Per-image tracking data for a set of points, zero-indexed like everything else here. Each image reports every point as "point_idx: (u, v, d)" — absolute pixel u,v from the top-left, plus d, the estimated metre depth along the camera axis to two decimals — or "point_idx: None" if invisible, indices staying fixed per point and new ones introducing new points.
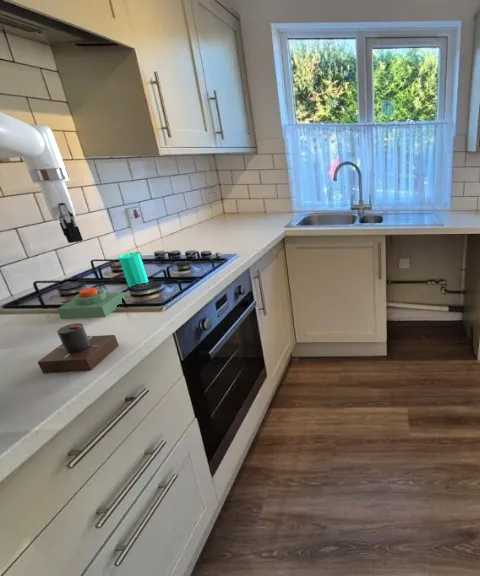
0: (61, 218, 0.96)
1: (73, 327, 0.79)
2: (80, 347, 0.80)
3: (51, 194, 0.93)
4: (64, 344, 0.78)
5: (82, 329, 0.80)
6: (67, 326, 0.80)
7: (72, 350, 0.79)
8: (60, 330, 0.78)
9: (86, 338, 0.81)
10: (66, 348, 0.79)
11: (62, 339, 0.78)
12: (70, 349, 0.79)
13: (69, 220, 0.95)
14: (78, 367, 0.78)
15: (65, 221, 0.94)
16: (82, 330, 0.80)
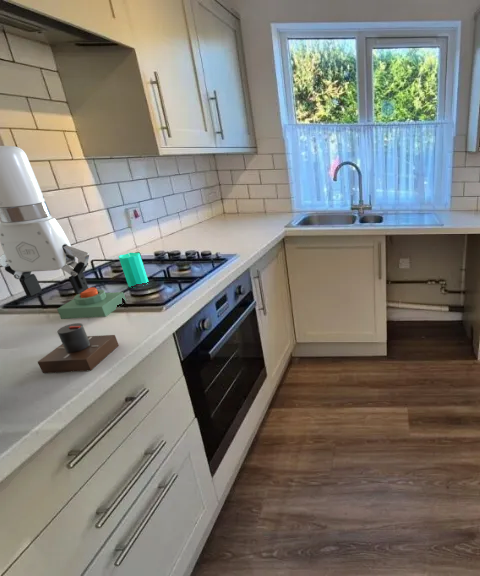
0: (65, 264, 0.74)
1: (73, 327, 0.79)
2: (80, 347, 0.80)
3: (54, 234, 0.72)
4: (64, 344, 0.78)
5: (82, 329, 0.80)
6: (67, 326, 0.80)
7: (72, 350, 0.79)
8: (60, 330, 0.78)
9: (86, 338, 0.81)
10: (66, 348, 0.79)
11: (62, 339, 0.78)
12: (70, 349, 0.79)
13: (86, 262, 0.76)
14: (78, 367, 0.78)
15: (83, 264, 0.75)
16: (82, 330, 0.80)
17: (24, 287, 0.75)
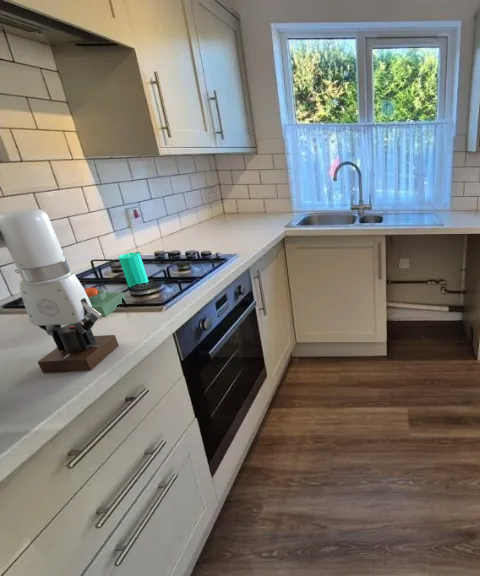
0: (79, 321, 0.78)
1: (73, 327, 0.79)
2: (80, 347, 0.80)
3: (73, 291, 0.75)
4: (64, 344, 0.78)
5: None
6: (67, 326, 0.80)
7: (72, 350, 0.79)
8: (60, 330, 0.78)
9: None
10: (66, 348, 0.79)
11: (62, 339, 0.78)
12: (70, 349, 0.79)
13: (95, 321, 0.79)
14: (78, 367, 0.78)
15: (91, 323, 0.78)
16: None
17: (56, 342, 0.79)
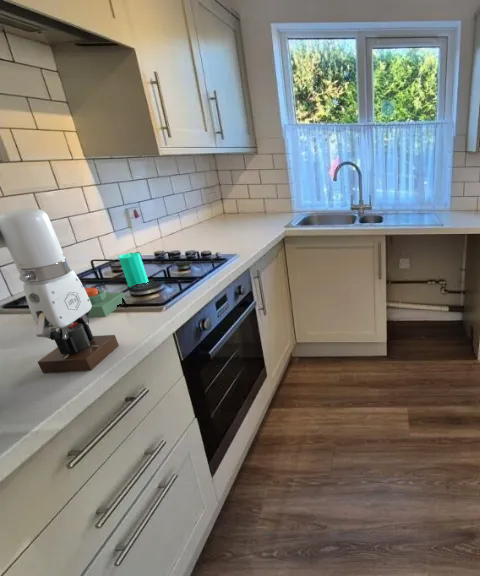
0: None
1: (73, 325, 0.80)
2: None
3: None
4: (82, 340, 0.80)
5: None
6: None
7: (88, 343, 0.82)
8: (70, 330, 0.78)
9: None
10: (84, 344, 0.80)
11: (80, 335, 0.79)
12: (87, 343, 0.81)
13: None
14: (78, 367, 0.78)
15: None
16: None
17: (73, 344, 0.78)
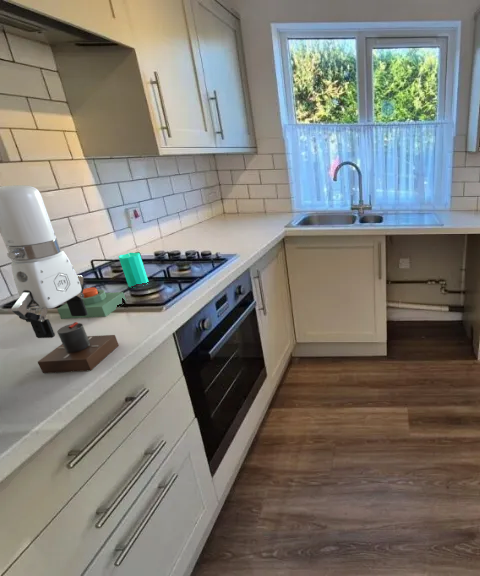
0: None
1: (73, 325, 0.80)
2: None
3: None
4: (82, 340, 0.80)
5: None
6: (62, 330, 0.78)
7: (88, 343, 0.82)
8: (70, 330, 0.78)
9: None
10: (84, 344, 0.80)
11: (80, 335, 0.79)
12: (87, 343, 0.81)
13: None
14: (78, 367, 0.78)
15: None
16: None
17: (50, 327, 0.73)
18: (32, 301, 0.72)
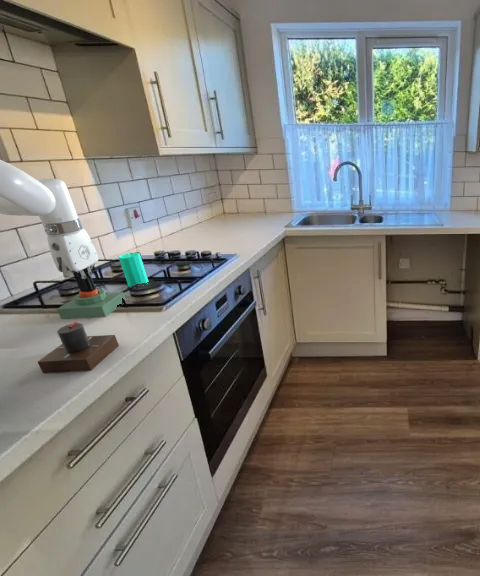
0: None
1: (73, 325, 0.80)
2: None
3: None
4: (82, 340, 0.80)
5: None
6: (62, 330, 0.78)
7: (88, 343, 0.82)
8: (70, 330, 0.78)
9: None
10: (84, 344, 0.80)
11: (80, 335, 0.79)
12: (87, 343, 0.81)
13: None
14: (78, 367, 0.78)
15: (90, 267, 1.04)
16: None
17: (90, 283, 1.02)
18: None
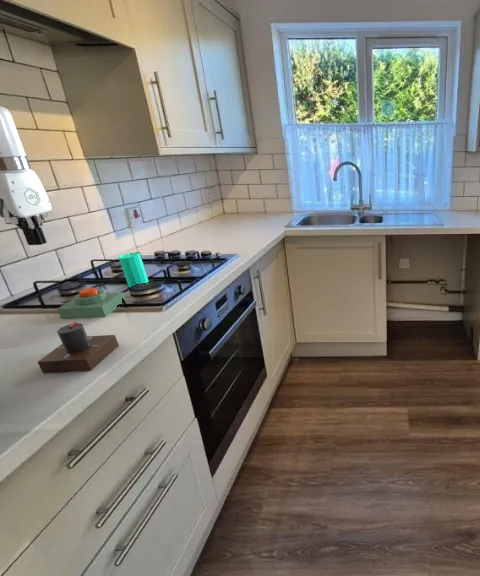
0: None
1: (73, 325, 0.80)
2: None
3: None
4: (82, 340, 0.80)
5: None
6: (62, 330, 0.78)
7: (88, 343, 0.82)
8: (70, 330, 0.78)
9: None
10: (84, 344, 0.80)
11: (80, 335, 0.79)
12: (87, 343, 0.81)
13: None
14: (78, 367, 0.78)
15: None
16: None
17: (39, 235, 0.88)
18: None
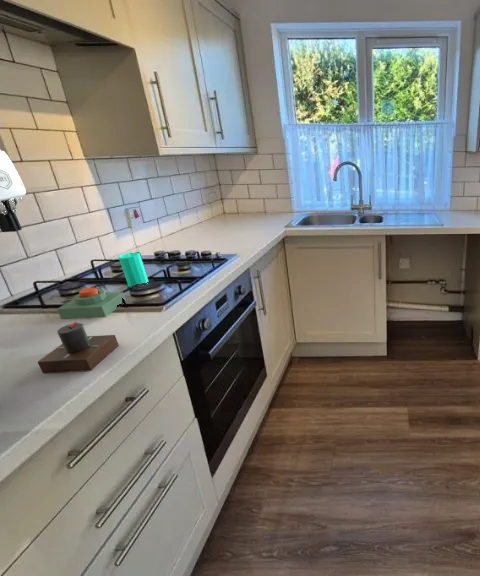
0: None
1: (73, 325, 0.80)
2: None
3: None
4: (82, 340, 0.80)
5: None
6: (62, 330, 0.78)
7: (88, 343, 0.82)
8: (70, 330, 0.78)
9: None
10: (84, 344, 0.80)
11: (80, 335, 0.79)
12: (87, 343, 0.81)
13: None
14: (78, 367, 0.78)
15: None
16: None
17: (13, 221, 0.81)
18: None
